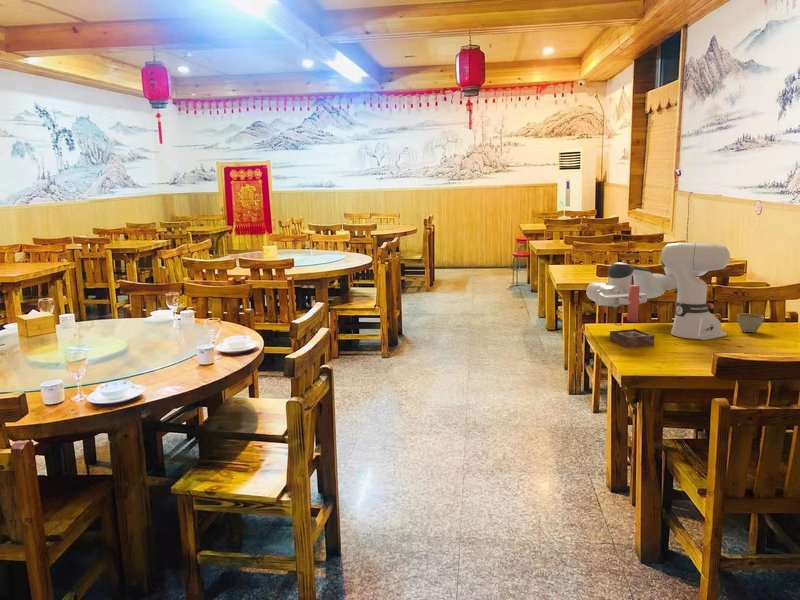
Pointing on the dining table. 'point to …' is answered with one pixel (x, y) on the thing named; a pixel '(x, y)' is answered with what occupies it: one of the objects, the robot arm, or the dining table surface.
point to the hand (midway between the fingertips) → (634, 302)
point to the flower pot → (749, 322)
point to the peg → (633, 303)
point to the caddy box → (631, 338)
